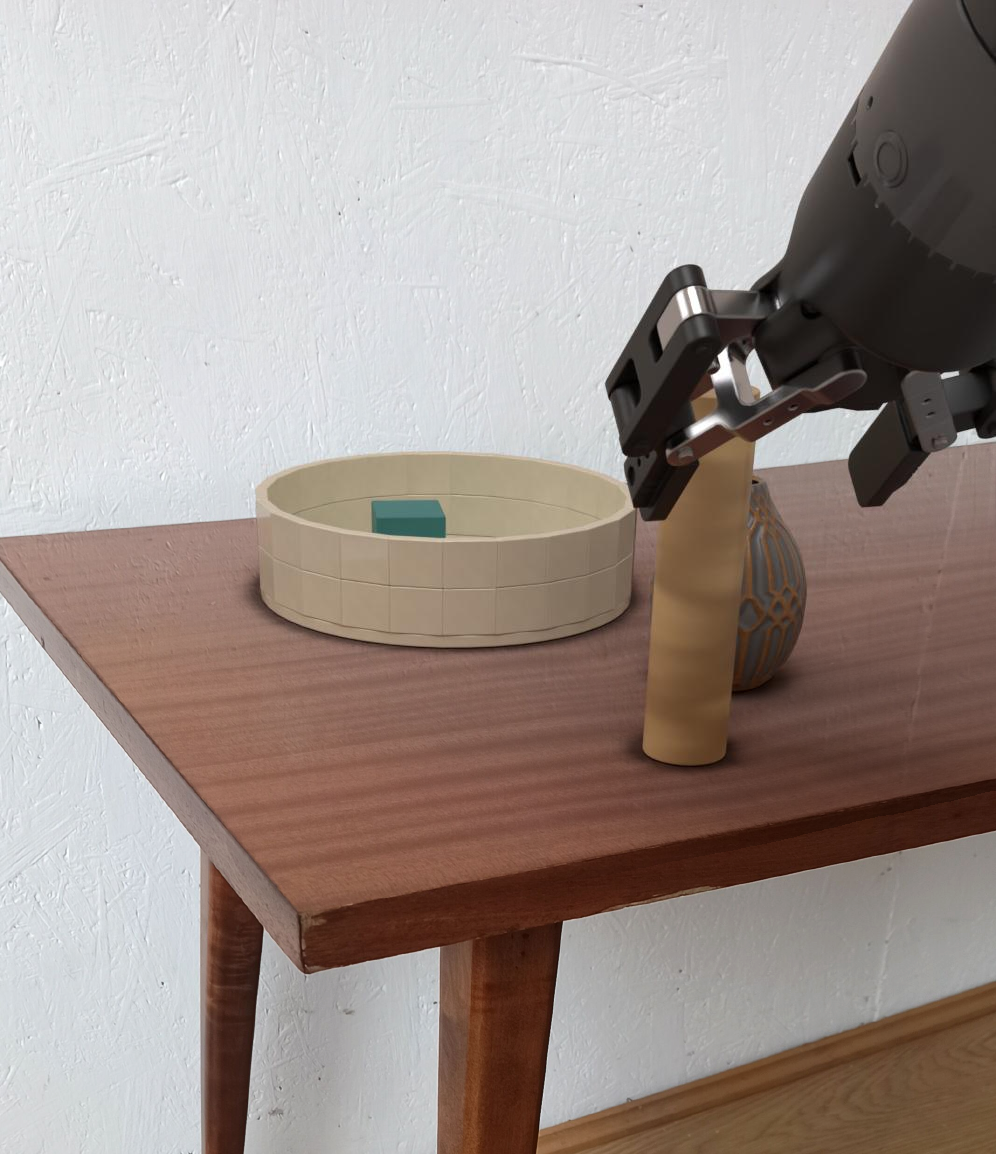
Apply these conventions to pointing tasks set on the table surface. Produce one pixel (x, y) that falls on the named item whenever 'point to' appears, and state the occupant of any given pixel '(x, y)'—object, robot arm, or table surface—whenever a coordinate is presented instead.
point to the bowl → (447, 549)
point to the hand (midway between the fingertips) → (755, 491)
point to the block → (408, 518)
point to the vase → (766, 593)
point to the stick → (698, 605)
